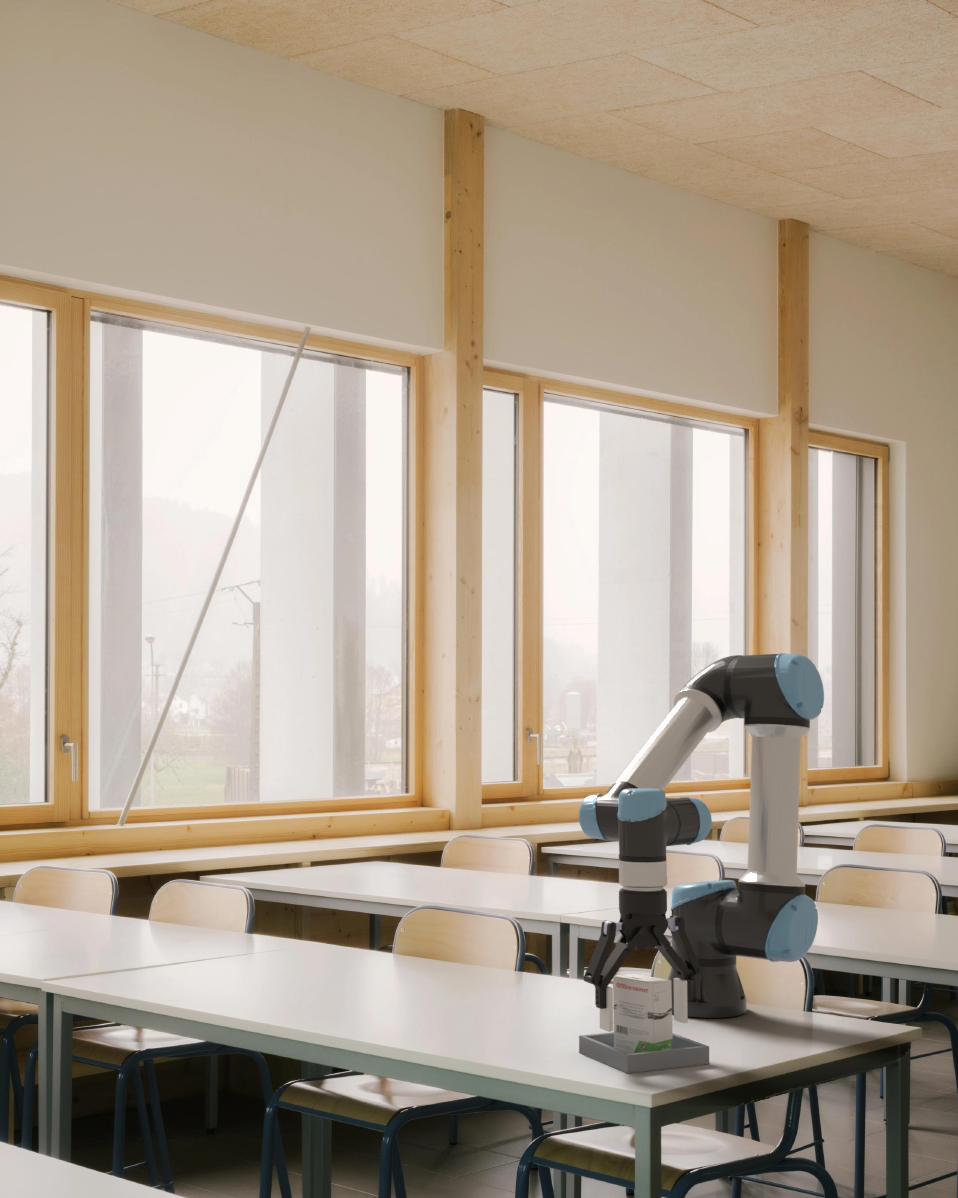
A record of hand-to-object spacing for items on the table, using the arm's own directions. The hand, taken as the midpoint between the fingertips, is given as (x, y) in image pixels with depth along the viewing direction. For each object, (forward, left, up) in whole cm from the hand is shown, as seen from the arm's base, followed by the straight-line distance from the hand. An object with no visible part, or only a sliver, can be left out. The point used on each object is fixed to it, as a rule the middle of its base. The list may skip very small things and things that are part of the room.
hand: (644, 1026), depth 220 cm
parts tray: (0, 0, -5) cm, 5 cm away
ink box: (0, 0, -4) cm, 5 cm away
